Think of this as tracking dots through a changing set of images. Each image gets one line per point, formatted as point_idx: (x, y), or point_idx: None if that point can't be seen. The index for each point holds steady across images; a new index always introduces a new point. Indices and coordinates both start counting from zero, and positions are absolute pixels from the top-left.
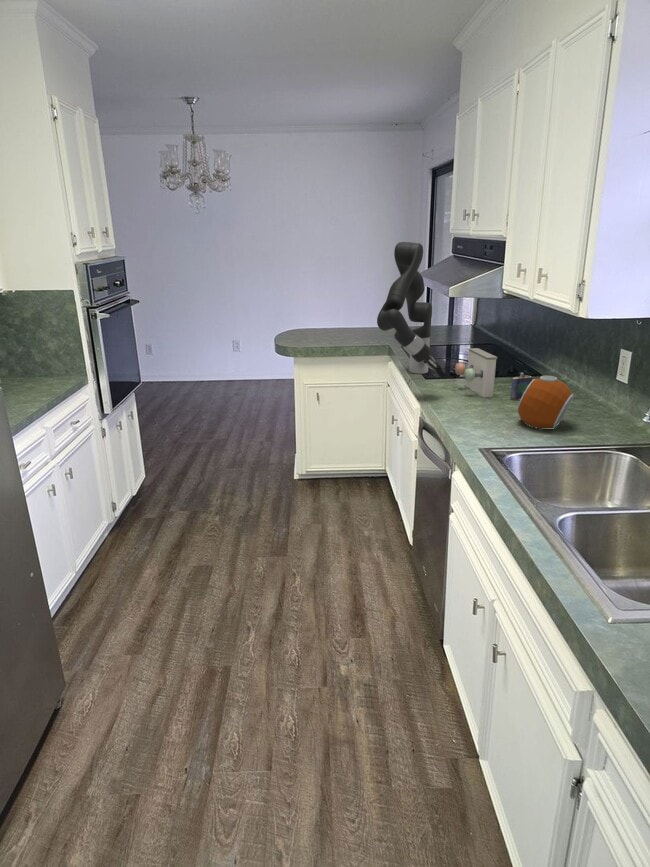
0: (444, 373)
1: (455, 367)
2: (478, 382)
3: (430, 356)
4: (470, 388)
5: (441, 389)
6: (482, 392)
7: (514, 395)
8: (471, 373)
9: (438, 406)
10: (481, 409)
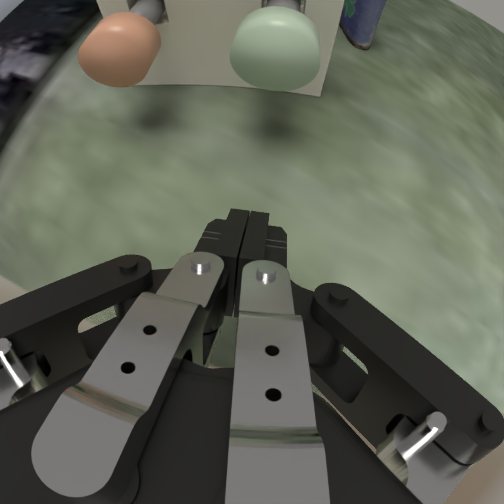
0: (267, 223)
1: (83, 64)
2: None
3: (114, 475)
4: (174, 83)
5: (114, 203)
6: None
7: (373, 35)
8: (318, 44)
9: None
10: (475, 205)
